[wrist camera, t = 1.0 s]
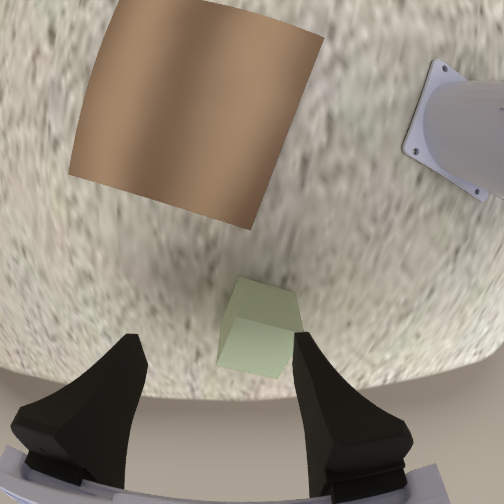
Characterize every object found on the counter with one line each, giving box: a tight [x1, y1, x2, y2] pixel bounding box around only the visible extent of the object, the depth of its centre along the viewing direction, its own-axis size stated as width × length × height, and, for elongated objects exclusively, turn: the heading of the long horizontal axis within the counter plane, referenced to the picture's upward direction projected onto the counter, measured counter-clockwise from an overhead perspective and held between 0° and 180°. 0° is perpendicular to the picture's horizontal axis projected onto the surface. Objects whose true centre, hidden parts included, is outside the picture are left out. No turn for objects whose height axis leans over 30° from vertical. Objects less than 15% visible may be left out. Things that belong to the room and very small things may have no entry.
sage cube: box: [216, 276, 304, 379], centre depth 22 cm, size 4×4×5 cm
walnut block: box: [69, 0, 324, 230], centre depth 16 cm, size 12×12×3 cm
